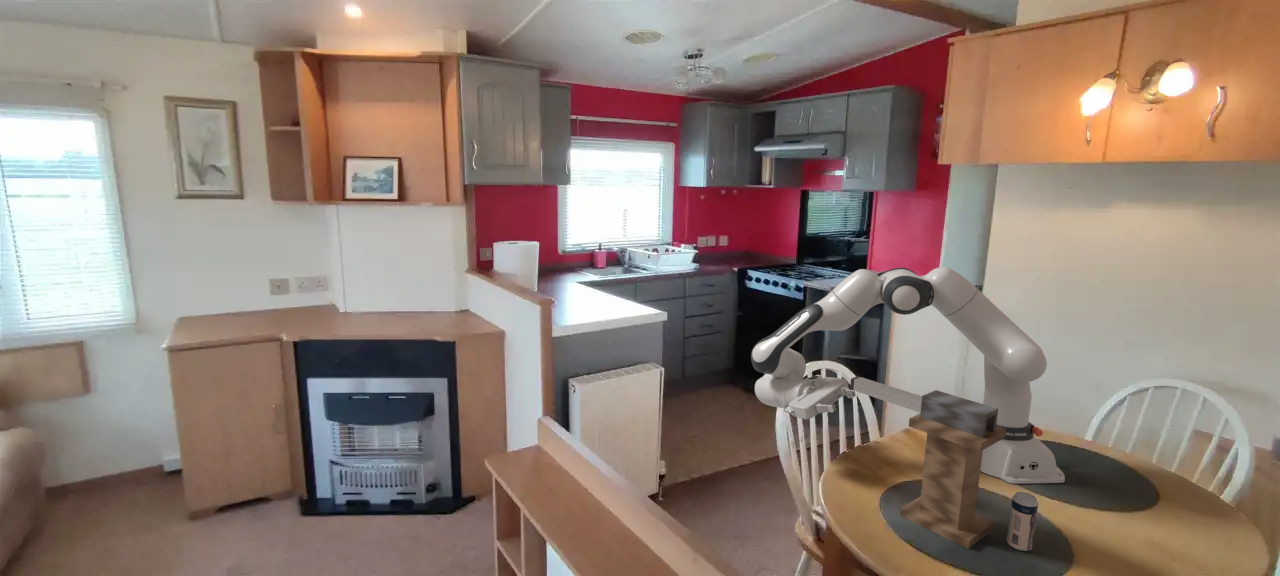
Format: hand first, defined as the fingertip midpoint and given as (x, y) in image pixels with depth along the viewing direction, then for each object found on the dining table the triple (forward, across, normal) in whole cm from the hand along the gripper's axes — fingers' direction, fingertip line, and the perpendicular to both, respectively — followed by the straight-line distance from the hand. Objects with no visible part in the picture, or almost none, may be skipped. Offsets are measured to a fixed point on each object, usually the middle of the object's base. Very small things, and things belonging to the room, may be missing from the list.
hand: (844, 401), depth 162 cm
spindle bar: (+15, -1, -2) cm, 15 cm away
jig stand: (+26, -6, +25) cm, 36 cm away
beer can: (+40, -3, +29) cm, 49 cm away
